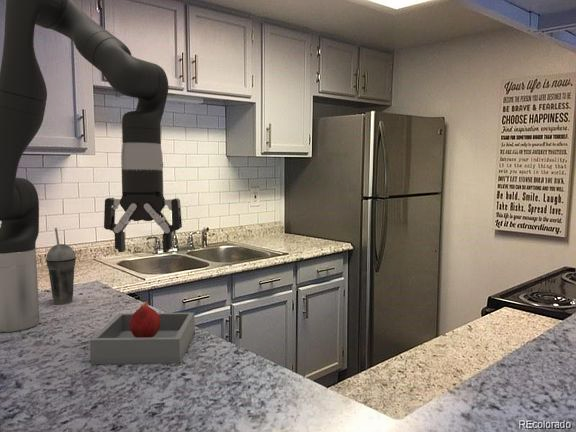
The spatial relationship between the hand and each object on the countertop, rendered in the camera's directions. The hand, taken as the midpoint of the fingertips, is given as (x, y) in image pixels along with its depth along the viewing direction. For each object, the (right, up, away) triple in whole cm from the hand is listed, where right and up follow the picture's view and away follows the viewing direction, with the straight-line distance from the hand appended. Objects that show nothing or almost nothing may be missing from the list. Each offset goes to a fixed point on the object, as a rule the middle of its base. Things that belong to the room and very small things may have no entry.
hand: (144, 251), depth 91 cm
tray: (0, -19, +2) cm, 19 cm away
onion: (0, -18, +2) cm, 18 cm away
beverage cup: (-32, -16, +34) cm, 49 cm away
